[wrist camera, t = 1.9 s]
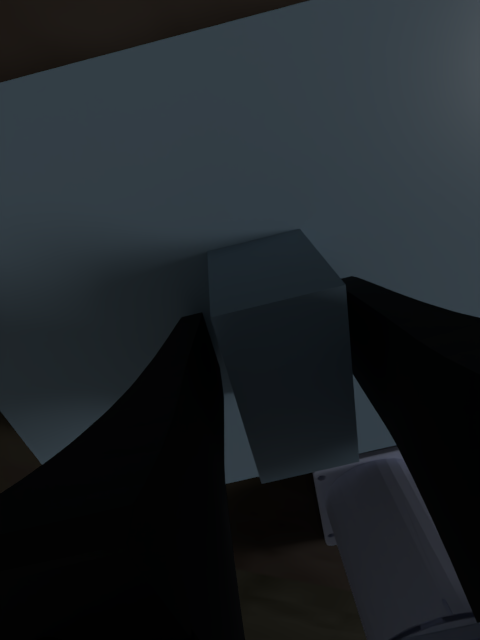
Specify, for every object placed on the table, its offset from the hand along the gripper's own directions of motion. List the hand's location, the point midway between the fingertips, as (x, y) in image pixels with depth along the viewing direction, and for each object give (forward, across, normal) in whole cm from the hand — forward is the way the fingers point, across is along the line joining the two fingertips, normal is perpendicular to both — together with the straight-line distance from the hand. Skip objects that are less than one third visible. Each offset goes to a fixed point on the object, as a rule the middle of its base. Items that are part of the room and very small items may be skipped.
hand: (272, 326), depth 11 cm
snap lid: (+1, 0, 0) cm, 1 cm away
